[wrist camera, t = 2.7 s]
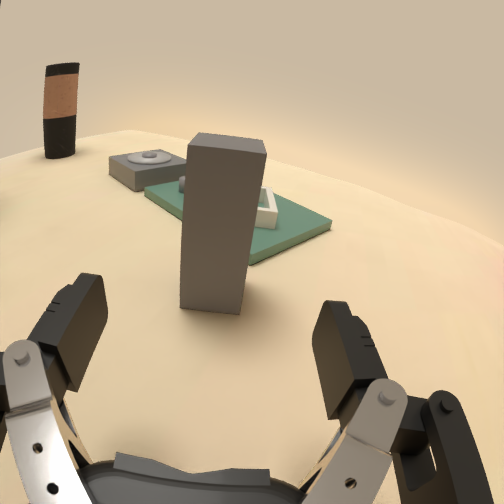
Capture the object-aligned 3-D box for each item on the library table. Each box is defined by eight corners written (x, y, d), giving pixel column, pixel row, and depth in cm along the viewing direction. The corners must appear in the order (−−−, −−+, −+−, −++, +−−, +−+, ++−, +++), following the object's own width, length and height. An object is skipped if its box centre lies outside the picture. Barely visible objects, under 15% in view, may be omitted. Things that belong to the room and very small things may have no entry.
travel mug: (37, 159, 51) (39, 66, 41) (54, 150, 57) (57, 66, 47) (66, 159, 52) (69, 62, 42) (81, 150, 58) (85, 62, 48)
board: (144, 195, 40) (144, 173, 38) (225, 179, 50) (228, 161, 48) (250, 265, 29) (255, 235, 27) (330, 228, 39) (336, 206, 37)
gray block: (179, 308, 22) (187, 144, 16) (188, 272, 27) (199, 132, 20) (239, 314, 23) (266, 154, 17) (239, 278, 27) (262, 139, 21)
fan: (108, 174, 46) (109, 151, 44) (159, 165, 53) (160, 145, 51) (134, 191, 40) (135, 165, 38) (191, 180, 47) (193, 157, 45)
